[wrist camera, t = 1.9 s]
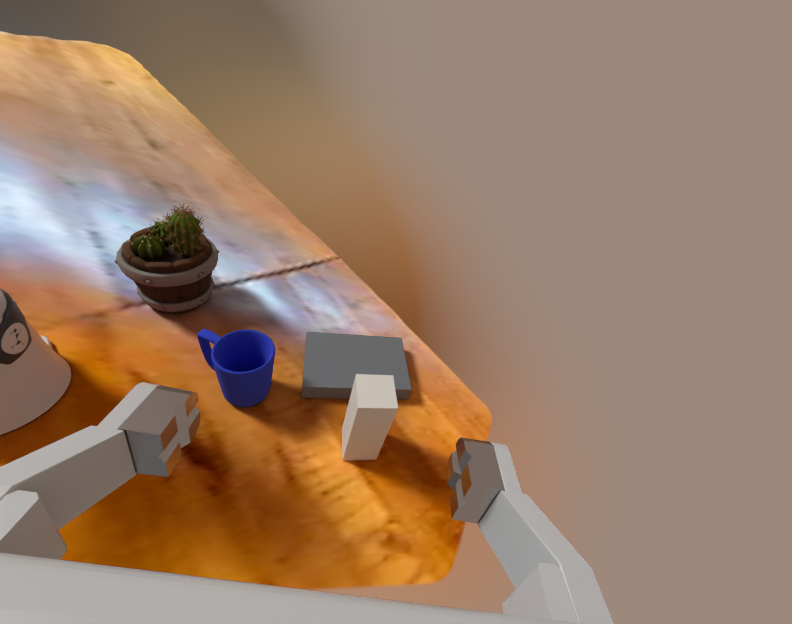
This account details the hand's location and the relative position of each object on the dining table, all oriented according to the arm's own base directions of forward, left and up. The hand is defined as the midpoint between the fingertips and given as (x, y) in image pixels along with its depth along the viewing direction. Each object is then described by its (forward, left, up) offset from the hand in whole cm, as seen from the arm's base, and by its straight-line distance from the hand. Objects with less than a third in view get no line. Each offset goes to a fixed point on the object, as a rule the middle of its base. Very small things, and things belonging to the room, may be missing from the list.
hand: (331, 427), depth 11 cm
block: (+8, +19, -40) cm, 45 cm away
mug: (-11, +29, -40) cm, 51 cm away
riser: (+8, +33, -40) cm, 53 cm away
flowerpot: (-25, +49, -40) cm, 68 cm away
